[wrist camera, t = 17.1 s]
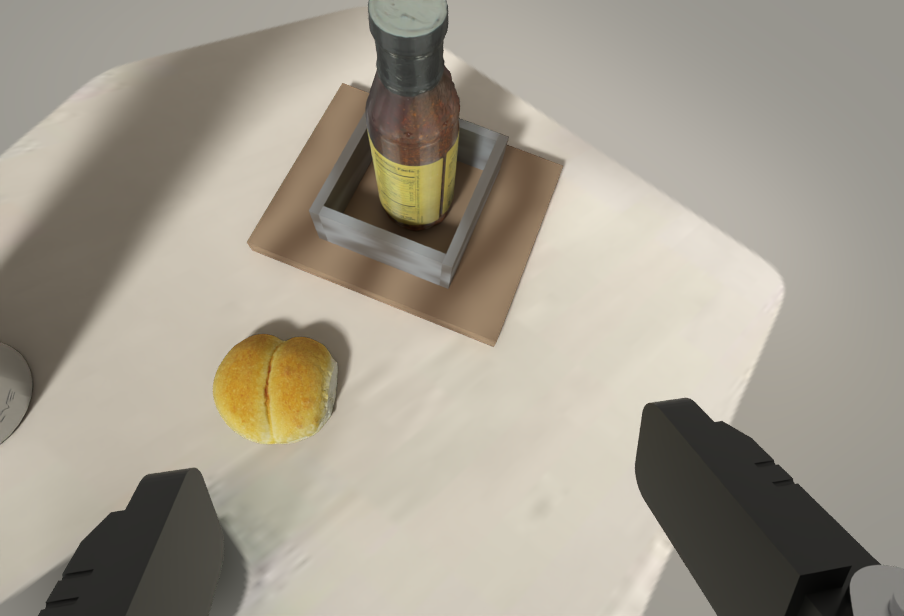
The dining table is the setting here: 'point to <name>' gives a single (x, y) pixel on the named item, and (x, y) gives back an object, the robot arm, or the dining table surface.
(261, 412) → the bread roll
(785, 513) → the robot arm
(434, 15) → the sauce bottle
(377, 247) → the bottle stand
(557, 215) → the dining table surface
